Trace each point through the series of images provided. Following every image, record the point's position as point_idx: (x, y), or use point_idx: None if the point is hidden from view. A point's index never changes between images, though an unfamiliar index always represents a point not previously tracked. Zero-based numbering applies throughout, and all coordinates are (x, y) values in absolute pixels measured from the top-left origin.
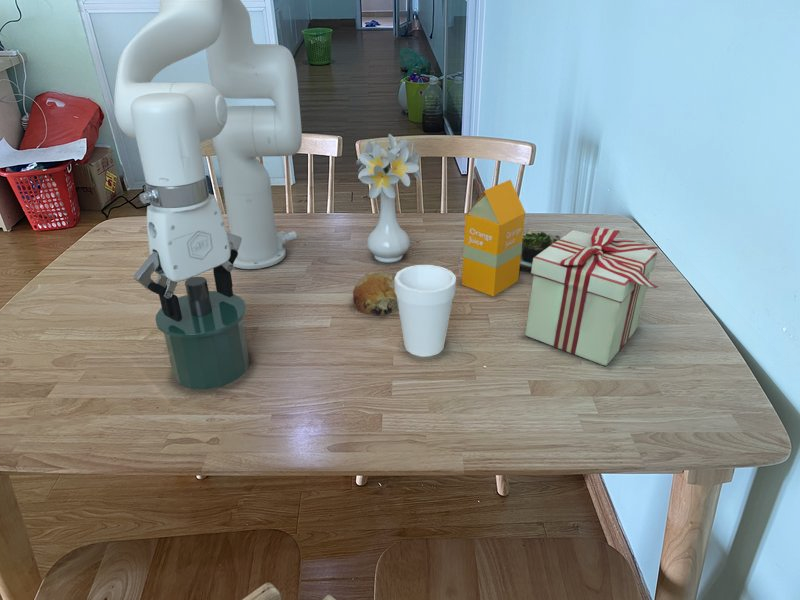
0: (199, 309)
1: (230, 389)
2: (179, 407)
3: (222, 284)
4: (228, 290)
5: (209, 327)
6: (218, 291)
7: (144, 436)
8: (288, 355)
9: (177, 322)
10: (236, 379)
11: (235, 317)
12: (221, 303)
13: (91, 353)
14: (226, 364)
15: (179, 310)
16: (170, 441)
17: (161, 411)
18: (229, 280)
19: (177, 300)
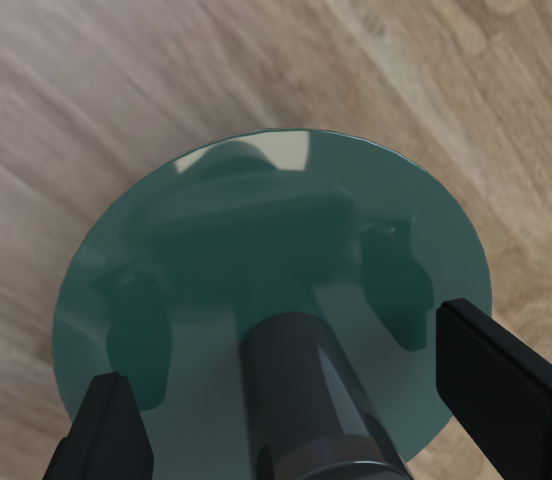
0: (328, 338)
1: (260, 118)
2: (399, 144)
3: (122, 468)
4: (110, 404)
5: (346, 184)
6: (149, 452)
7: (513, 95)
8: (16, 151)
9: (419, 329)
10: (230, 134)
11: (182, 185)
12: (172, 369)
13: (417, 464)
14: None
15: (481, 332)
16: (489, 23)
17: (436, 161)
18: (68, 465)
19: (536, 376)
